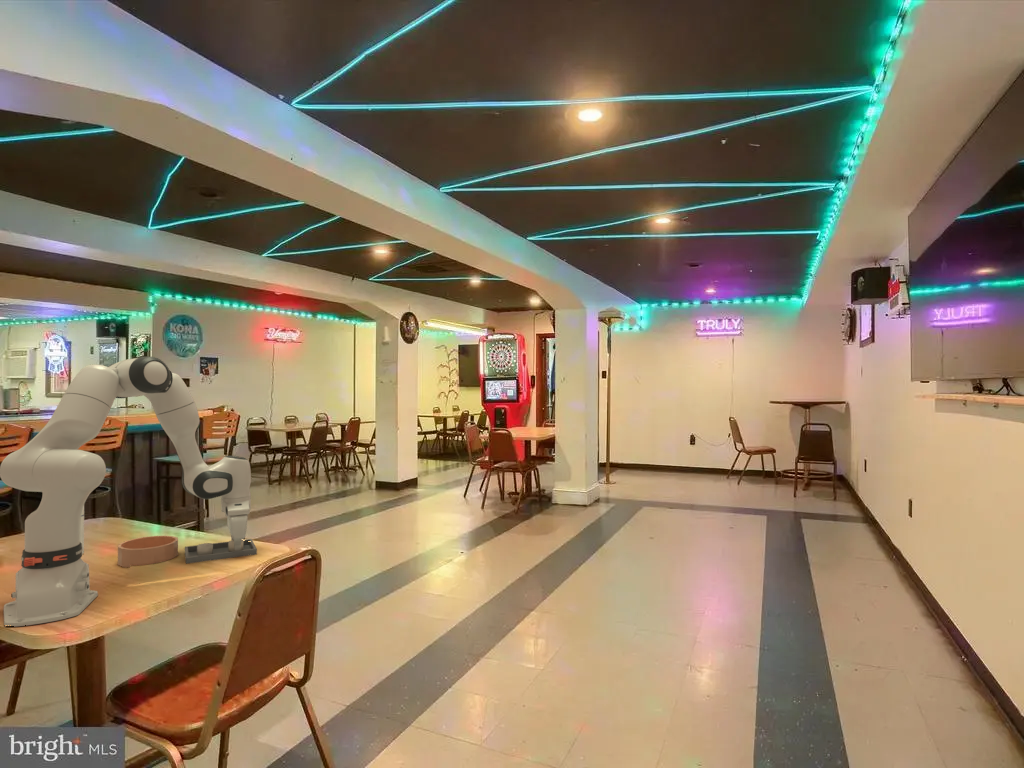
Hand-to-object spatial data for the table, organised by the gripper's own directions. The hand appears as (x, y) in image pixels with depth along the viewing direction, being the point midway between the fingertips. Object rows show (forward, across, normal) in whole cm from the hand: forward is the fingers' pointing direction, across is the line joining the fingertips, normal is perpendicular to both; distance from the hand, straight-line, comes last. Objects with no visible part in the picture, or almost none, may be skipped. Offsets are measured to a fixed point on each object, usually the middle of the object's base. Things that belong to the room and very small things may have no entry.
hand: (235, 546), depth 191 cm
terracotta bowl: (+2, -6, -24) cm, 25 cm away
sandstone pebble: (+1, 0, 0) cm, 1 cm away
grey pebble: (+1, 0, -9) cm, 9 cm away
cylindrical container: (+2, -24, -46) cm, 52 cm away
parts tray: (+2, 0, -4) cm, 5 cm away
